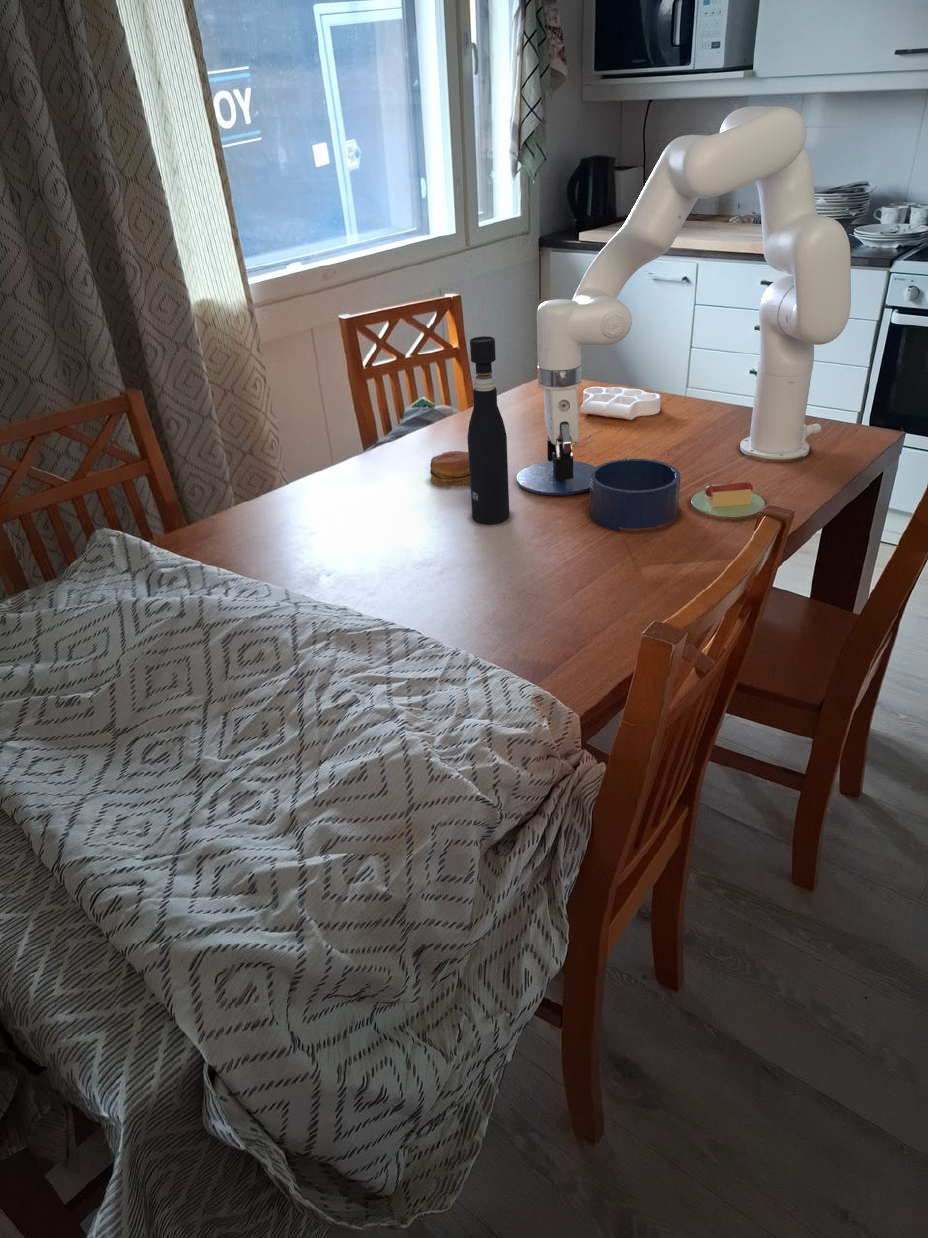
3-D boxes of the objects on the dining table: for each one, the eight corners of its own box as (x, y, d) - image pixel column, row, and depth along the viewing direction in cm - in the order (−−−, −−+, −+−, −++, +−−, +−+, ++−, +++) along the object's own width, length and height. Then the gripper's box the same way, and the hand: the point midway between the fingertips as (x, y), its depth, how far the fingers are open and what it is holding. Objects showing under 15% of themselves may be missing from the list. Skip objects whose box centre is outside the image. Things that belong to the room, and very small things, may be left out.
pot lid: (573, 459, 168) (573, 432, 165) (619, 485, 156) (620, 456, 153) (502, 477, 163) (500, 448, 160) (543, 505, 150) (543, 475, 147)
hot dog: (747, 495, 147) (749, 478, 145) (754, 503, 144) (756, 486, 142) (701, 499, 147) (702, 481, 145) (707, 507, 144) (709, 490, 142)
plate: (731, 486, 152) (731, 482, 152) (780, 509, 143) (780, 505, 143) (676, 501, 148) (676, 497, 148) (722, 526, 139) (723, 522, 139)
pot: (643, 489, 154) (645, 452, 150) (695, 518, 142) (698, 479, 138) (573, 508, 149) (573, 470, 145) (621, 539, 137) (623, 499, 134)
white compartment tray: (567, 414, 191) (595, 396, 202) (642, 425, 183) (668, 405, 193) (567, 400, 190) (595, 382, 200) (643, 409, 181) (669, 390, 191)
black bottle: (514, 510, 149) (508, 334, 134) (503, 526, 144) (496, 344, 128) (479, 507, 151) (469, 333, 136) (467, 523, 146) (455, 343, 130)
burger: (487, 483, 160) (485, 459, 158) (439, 492, 158) (437, 468, 156) (469, 466, 169) (468, 443, 166) (424, 474, 166) (422, 451, 164)
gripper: (590, 388, 142) (589, 485, 151) (572, 360, 157) (572, 451, 166) (545, 391, 142) (546, 489, 151) (531, 364, 156) (533, 454, 165)
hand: (560, 469), depth 158 cm, fingers open, 8 cm apart
